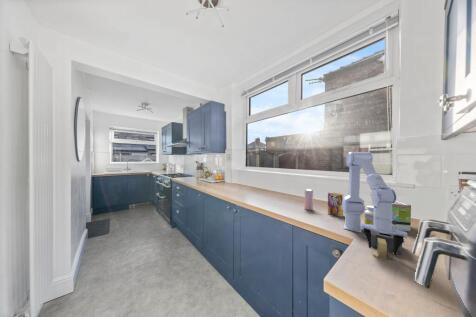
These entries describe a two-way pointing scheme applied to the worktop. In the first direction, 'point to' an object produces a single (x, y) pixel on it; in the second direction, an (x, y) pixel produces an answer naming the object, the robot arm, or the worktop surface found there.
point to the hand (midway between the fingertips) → (381, 250)
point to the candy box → (335, 204)
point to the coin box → (387, 238)
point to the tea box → (401, 216)
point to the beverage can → (308, 199)
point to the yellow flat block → (382, 248)
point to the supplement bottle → (369, 215)
